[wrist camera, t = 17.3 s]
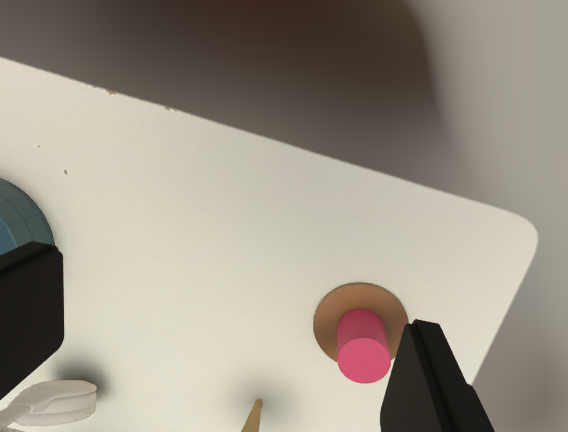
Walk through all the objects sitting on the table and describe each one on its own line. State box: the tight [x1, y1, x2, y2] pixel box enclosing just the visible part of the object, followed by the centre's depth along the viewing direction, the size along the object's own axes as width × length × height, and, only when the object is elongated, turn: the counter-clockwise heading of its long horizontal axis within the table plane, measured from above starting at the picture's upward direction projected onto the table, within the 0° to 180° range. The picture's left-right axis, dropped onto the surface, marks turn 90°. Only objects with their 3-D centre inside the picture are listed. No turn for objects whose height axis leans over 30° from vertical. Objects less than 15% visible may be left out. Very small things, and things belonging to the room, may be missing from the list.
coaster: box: [314, 283, 408, 362], centre depth 37 cm, size 9×9×1 cm
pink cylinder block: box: [337, 309, 391, 383], centre depth 35 cm, size 4×4×5 cm
